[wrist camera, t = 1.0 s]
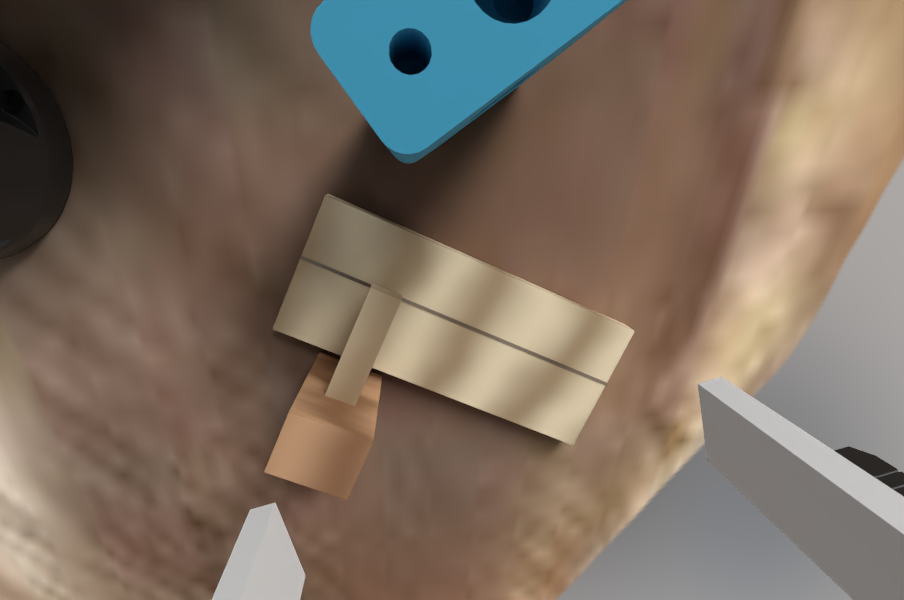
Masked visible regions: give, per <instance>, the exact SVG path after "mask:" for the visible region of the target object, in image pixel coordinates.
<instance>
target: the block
mask: <svg viewBox="0 0 904 600" xmlns="http://www.w3.org/2000/svg"><path fill="white" fill-rule="evenodd" d="M625 1H627V0H324V1H323V2H322V3H321V4H320V5H319V6H318V7H317V9H316V11H315V13H314V15H313V17H312V22H311V37H312V41H313V45H314V47H315V48H316V50H317V52H318V54H319V55H320V57H321V58H322V59H323V61H324V62H325V63H326V65H327V66H328V68H329V69H330V70H331V72H332V73H333V74H334V76H335V77H336V79H337V80H338V81H339V83H340V84H341V86H342V87H343V88H344V90H345V91H346V92H347V94H348V95H349V97H350V98H351V99H352V101H353V102H354V104H355V105H356V106H357V108H358V109H359V110H360V112H361V113H362V115H363V116H364V117H365V119H366V120H367V121H368V123H369V124H370V126H371V127H372V128H373V130H374V131H375V133H376V134H377V135H378V137H379V138H380V139H381V141H382V142H383V143H384V144H385V146H386V147H387V148H388V149H389V150H390V152H391V153H392V154H393V155H394V156H395V158H396V159H397V160H399V161H401V162H403V163H414V162H416V161H418V160H420V159H421V158H423V157H424V156H425V155H427V154H428V153H430V152H431V151H433V150H434V149H436V148H437V147H439V146H440V145H441V144H443V143H444V142H445V141H447V140H448V139H449V138H451V137H452V136H453V135H455V134H456V133H457V132H459V131H460V130H461V129H463V128H464V127H465V126H467V125H468V124H469V123H471V122H472V121H473V120H475V119H476V118H477V117H479V116H480V115H481V114H483V113H484V112H485V111H487V110H488V109H489V108H491V107H492V106H493V105H495V104H496V103H497V102H499V101H500V100H501V99H503V98H504V97H505V96H506V95H508V94H509V93H510V92H512V91H513V90H514V89H516V88H517V87H518V86H520V85H521V84H522V83H523V82H525V81H526V80H527V79H529V78H530V77H531V76H532V75H534V74H535V73H536V72H538V71H539V70H540V69H541V68H543V67H544V66H545V65H546V64H548V63H549V62H550V61H552V60H553V59H554V58H555V57H557V56H558V55H559V54H561V53H562V52H563V51H564V50H566V49H567V48H568V47H569V46H571V45H572V44H573V43H574V42H576V41H577V40H578V39H579V38H581V37H582V36H583V35H584V34H586V33H587V32H588V31H589V30H591V29H592V28H593V27H594V26H596V25H597V24H598V23H599V22H601V21H602V20H603V19H604V18H606V17H607V16H608V15H609V14H611V13H612V12H613V11H614V10H616V9H617V8H618V7H619V6H621V5H622V4H623V3H624V2H625Z"/></svg>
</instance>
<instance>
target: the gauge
mask: <svg viewBox="0 0 904 600" xmlns="http://www.w3.org/2000/svg"><path fill="white" fill-rule="evenodd" d="M401 301H402V294H399V293H397V292H394V291H392V290H390V289H388V288H386V287H383V286H380V285H378V284H375V283H373V282H372V285H371V287H370V289H369V292H368V294H367V296H366V299H365V301H364V303H363V306H362V308H361V310H360V313H359V315H358V317H357V320H356V322H355V324H354V327H353V329H352V332H351V334H350V336H349V339H348V341H347V343H346V346H345V348H344V350H343V353H342V355H341V357H340V359H338V358H335V357H332V356H330V355H327V354H325V353H322V352H319V354H318V356H317V358H316V360H315V362H314V364H313V366H312V368H311V370H310V372H309V373H308V375H307V377H306V379H305V381H304V383H303V385H302V387H301V389H300V391H299V393H298V395H297V397H296V399H295V401H294V403H293V405H292V407H291V409H290V411H289V413H288V415H287V418H286V420H285V423H284V425H283V427H282V430H281V432H280V435H279V437H278V439H277V442H276V444H275V447H274V449H273V452H272V454H271V456H270V459H269V461H268V464H267V466H266V468H265V471H264V472H265V473H268V474H271V475H274V476H277V477H280V478H283V479H286V480H289V481H292V482H295V483H298V484H300V485H303V486H306V487H309V488H312V489H315V490H318V491H321V492H324V493H327V494H330V495H333V496H336V497H339V498H342V499H345V500H347V499H348V497H349V495H350V493H351V490H352V488H353V486H354V484H355V482H356V479H357V477H358V475H359V473H360V471H361V468H362V466H363V464H364V462H365V460H366V457H367V455H368V453H369V451H370V449H371V446H372V444H373V441H374V434H375V426H376V419H377V412H378V404H379V397H380V389H381V382H382V375H379V374H377V373H374V372H371V369H372V366H373V364H374V362H375V360H376V357H377V355H378V353H379V351H380V348H381V346H382V344H383V341H384V339H385V337H386V335H387V332H388V330H389V328H390V326H391V323H392V321H393V319H394V317H395V314H396V312H397V310H398V307H399V305H400V303H401Z"/></svg>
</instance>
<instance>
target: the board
mask: <svg viewBox="0 0 904 600" xmlns="http://www.w3.org/2000/svg"><path fill="white" fill-rule="evenodd" d="M372 282H373V283H375V284H378V285H380V286H383V287H386V288H388V289H390V290H392V291H394V292H397V293H399V294H402V301H401V303H400V305H399V307H398V310H397V312H396V314H395V317H394V319H393V321H392V323H391V326H390V328H389V330H388V332H387V335H386V337H385V339H384V341H383V344H382V346H381V348H380V351H379V353H378V355H377V357H376V360H375V362H374V364H373V366H372V368H374V369H377V370H379V371H382V372H385V373H387V374H390V375H392V376H395V377H398V378H400V379H403V380H405V381H408V382H410V383H413V384H416V385H418V386H421V387H423V388H426V389H429V390H431V391H434V392H436V393H439V394H441V395H444V396H447V397H449V398H452V399H454V400H457V401H460V402H462V403H465V404H467V405H470V406H473V407H475V408H478V409H480V410H483V411H485V412H488V413H491V414H493V415H496V416H498V417H501V418H504V419H506V420H509V421H511V422H514V423H517V424H519V425H522V426H524V427H527V428H529V429H532V430H535V431H537V432H540V433H542V434H545V435H548V436H550V437H553V438H555V439H558V440H561V441H563V442H566V443H568V444H571V445H573V444H574V443H575V441H576V439H577V437H578V435H579V433H580V431H581V430H582V428H583V426H584V424H585V422H586V420H587V419H588V417H589V415H590V413H591V411H592V409H593V407H594V406H595V404H596V402H597V400H598V398H599V396H600V395H601V393H602V391H603V389H604V387H605V385H606V384H607V382H608V380H609V378H610V376H611V374H612V372H613V371H614V369H615V367H616V365H617V363H618V361H619V359H620V358H621V356H622V354H623V352H624V350H625V348H626V347H627V345H628V343H629V341H630V339H631V337H632V335H633V334H634V332H635V331H634V330H632V329H631V328H629V327H628V326H627V325H625V324H623V323H621V322H619V321H616V320H614V319H612V318H609V317H607V316H605V315H603V314H600V313H598V312H596V311H594V310H591V309H589V308H587V307H585V306H582V305H580V304H578V303H575V302H573V301H571V300H569V299H566V298H564V297H562V296H560V295H557V294H555V293H553V292H551V291H548V290H546V289H544V288H541V287H539V286H537V285H535V284H532V283H530V282H528V281H526V280H523V279H521V278H519V277H517V276H514V275H512V274H510V273H507V272H505V271H503V270H501V269H498V268H496V267H494V266H492V265H489V264H487V263H485V262H483V261H480V260H478V259H476V258H473V257H471V256H469V255H467V254H464V253H462V252H460V251H458V250H455V249H453V248H451V247H449V246H446V245H444V244H442V243H440V242H437V241H435V240H433V239H430V238H428V237H426V236H424V235H421V234H419V233H417V232H415V231H412V230H410V229H408V228H406V227H403V226H401V225H399V224H396V223H394V222H392V221H390V220H387V219H385V218H383V217H381V216H378V215H376V214H374V213H372V212H369V211H367V210H365V209H362V208H360V207H358V206H356V205H353V204H351V203H349V202H347V201H344V200H342V199H340V198H338V197H335V196H333V195H331V194H327V195H325V197H324V199H323V202H322V204H321V207H320V209H319V212H318V214H317V217H316V219H315V222H314V225H313V227H312V230H311V232H310V235H309V237H308V240H307V242H306V245H305V247H304V250H303V253H302V255H301V257H300V260H299V263H298V265H297V268H296V270H295V273H294V275H293V278H292V281H291V283H290V286H289V288H288V291H287V293H286V296H285V298H284V301H283V303H282V306H281V309H280V311H279V314H278V316H277V319H276V321H275V324H274V326H273V330H276V331H278V332H281V333H284V334H286V335H289V336H291V337H294V338H297V339H299V340H302V341H304V342H307V343H310V344H312V345H315V346H317V347H320V348H322V349H325V350H328V351H330V352H333V353H335V354H338V355H342V353H343V350H344V348H345V346H346V343H347V341H348V339H349V336H350V334H351V332H352V329H353V327H354V324H355V322H356V320H357V317H358V315H359V313H360V310H361V308H362V306H363V303H364V301H365V299H366V296H367V294H368V292H369V289H370V287H371V285H372Z"/></svg>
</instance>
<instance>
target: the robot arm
mask: <svg viewBox="0 0 904 600" xmlns="http://www.w3.org/2000/svg"><path fill="white" fill-rule="evenodd" d="M71 180H72V151H71V144H70V139H69V135H68V131H67V128H66V125H65V122H64V120H63V117H62V115H61V112H60V110H59V108H58V106H57V104H56V102H55V101H54V99H53V97H52V95H51V94H50V92H49V91H48V89H47V88H46V86H45V85H44V83H43V82H42V81H41V79H40V78H39V77H38V76H37V75H36V73H35V72H34V71H33V70H32V69H31V68H30V67H29V66H28V65H27V64H26V63H25V62H24V61H23V60H22V59H21V58H20V57H19V56H18V55H17V54H15V53H14V52H13V51H12V50H10V49H9V48H8V47H6V46H5V45H4V44H2V43H1V42H0V259H1V258H5V257H8V256H11V255H13V254H16V253H18V252H20V251H22V250H24V249H26V248H27V247H29V246H31V245H32V244H34V243H35V242H36V241H38V240H39V239H40V238H41V237H42V236H44V235H45V233H46V232H47V231H48V230H49V229H50V228H51V227H52V226H53V224H54V223H55V222H56V220H57V219H58V217H59V215H60V214H61V212H62V210H63V208H64V205H65V203H66V200H67V197H68V194H69V190H70V186H71ZM698 390H699V398H700V406H701V414H702V422H703V430H704V438H705V446H706V453H707V460H708V461H709V462H710V463H711V464H712V465H713V466H714V467H715V468H716V469H717V470H718V471H719V472H720V473H721V474H722V475H723V476H724V477H725V478H726V479H728V481H729V482H730V483H732V484H733V485H734V486H735V487H736V488H737V489H738V490H739V491H740V492H741V493H742V494H743V495H744V496H745V497H746V498H747V499H748V500H749V501H750V502H751V503H752V504H753V505H755V506H756V507H757V508H758V509H759V510H760V511H761V512H762V513H763V514H764V515H765V516H766V517H767V518H768V519H769V520H770V521H771V522H772V523H773V524H774V525H775V526H776V527H778V528H779V529H780V530H781V531H782V532H783V533H784V534H785V535H786V536H787V537H788V538H789V539H790V540H791V541H792V542H793V543H794V544H795V545H796V546H797V547H798V548H800V549H801V550H802V551H803V552H804V553H805V554H806V555H807V556H808V557H809V558H810V559H811V560H812V561H813V562H814V563H815V564H816V565H817V566H818V567H819V568H820V569H821V570H822V571H824V572H825V573H826V574H827V575H828V576H829V577H830V578H831V579H832V580H833V581H834V582H835V583H836V584H837V585H838V586H839V587H840V588H841V589H842V590H843V591H844V592H845V593H847V594H848V595H849V596H850V597H851V598H852V599H853V600H904V473H903V472H898V470H897V469H896V468H895V467H893V466H891V465H890V464H888V463H886V462H885V461H883V460H882V459H880V458H878V457H877V456H875V455H871V454H869V453H866V452H863V451H860V450H857V449H854V448H851V447H845V448H842V449H839V450H835V451H834V450H832V449H831V448H829V447H828V446H826V445H824V444H823V443H821V442H820V441H818V440H817V439H815V438H814V437H812V436H811V435H809V434H808V433H806V432H805V431H803V430H802V429H800V428H798V427H797V426H796V425H794V424H793V423H791V422H789V421H788V420H786V419H785V418H783V417H782V416H780V415H779V414H777V413H776V412H774V411H773V410H771V409H769V408H768V407H767V406H765V405H764V404H762V403H761V402H759V401H757V400H756V399H754V398H753V397H751V396H750V395H748V394H747V393H745V392H744V391H742V390H741V389H739V388H738V387H736V386H735V385H733V384H732V383H730V382H729V381H727V380H726V379H724V378H723V377H720V378H716V379H712V380H709V381H705V382H702V383H698ZM304 580H305V573H304V571H303V568H302V566H301V564H300V561H299V559H298V556H297V554H296V551H295V549H294V547H293V544H292V542H291V539H290V537H289V534H288V532H287V529H286V527H285V525H284V522H283V520H282V517H281V515H280V512H279V510H278V508H277V505H276V503H272V504H268V505H265V506H261V507H258V508H254V509H250V511H249V513H248V516H247V518H246V520H245V523H244V525H243V527H242V530H241V532H240V534H239V537H238V539H237V541H236V544H235V546H234V548H233V551H232V553H231V556H230V558H229V560H228V563H227V565H226V567H225V570H224V572H223V574H222V577H221V579H220V581H219V584H218V586H217V588H216V591H215V593H214V595H213V598H212V600H300V598H301V594H302V589H303V585H304Z"/></svg>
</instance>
